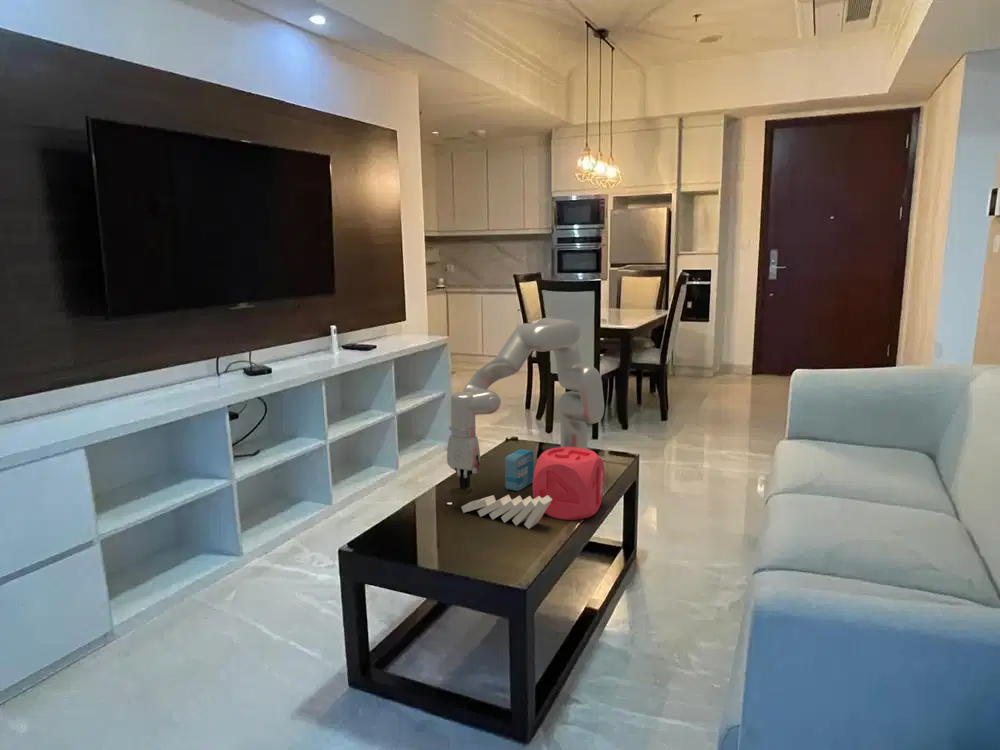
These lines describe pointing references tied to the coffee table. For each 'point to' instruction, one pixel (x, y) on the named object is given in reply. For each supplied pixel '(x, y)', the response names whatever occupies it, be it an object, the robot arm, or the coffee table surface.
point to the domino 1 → (478, 503)
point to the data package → (519, 470)
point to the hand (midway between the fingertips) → (464, 488)
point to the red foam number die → (570, 482)
